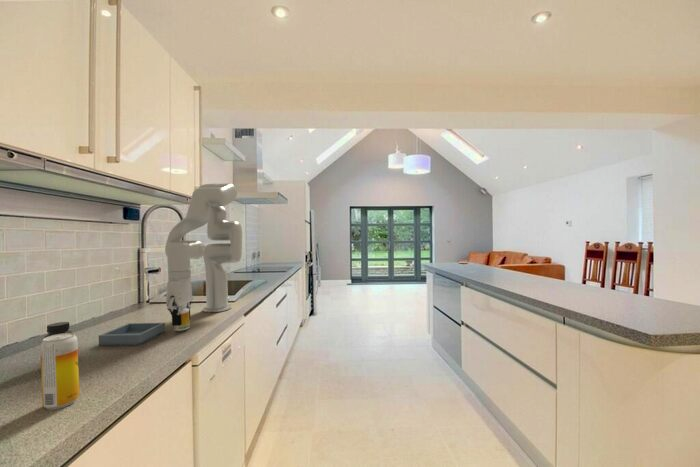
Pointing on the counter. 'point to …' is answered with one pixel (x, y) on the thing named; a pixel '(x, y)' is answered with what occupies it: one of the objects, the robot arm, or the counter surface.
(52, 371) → the pill bottle
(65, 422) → the counter surface
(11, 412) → the counter surface
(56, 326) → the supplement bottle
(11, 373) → the counter surface
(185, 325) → the supplement bottle
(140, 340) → the tray
